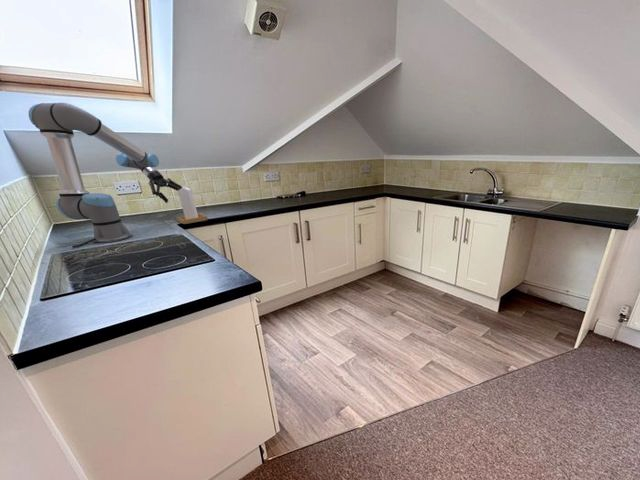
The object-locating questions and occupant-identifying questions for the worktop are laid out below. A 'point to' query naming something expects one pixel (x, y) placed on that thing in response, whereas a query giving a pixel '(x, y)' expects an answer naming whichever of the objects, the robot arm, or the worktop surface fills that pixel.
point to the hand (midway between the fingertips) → (177, 199)
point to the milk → (187, 202)
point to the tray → (186, 221)
